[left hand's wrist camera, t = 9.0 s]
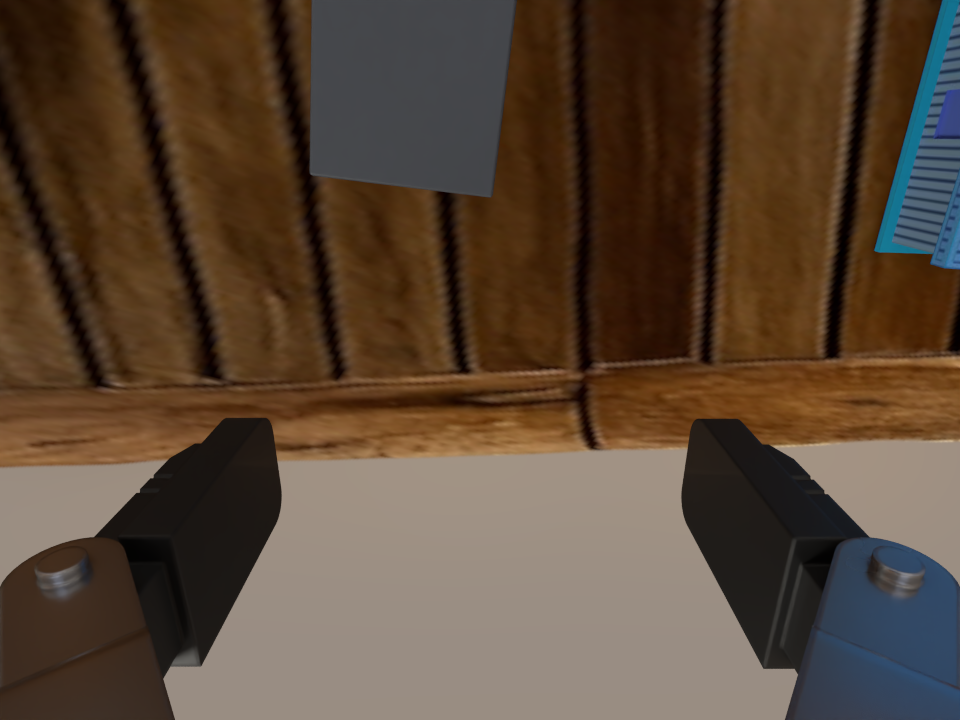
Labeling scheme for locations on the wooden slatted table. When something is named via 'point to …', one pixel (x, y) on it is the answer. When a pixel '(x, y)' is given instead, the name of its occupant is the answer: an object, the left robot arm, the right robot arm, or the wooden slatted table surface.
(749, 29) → the wooden slatted table surface
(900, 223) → the model building
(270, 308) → the wooden slatted table surface
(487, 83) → the bar
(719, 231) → the wooden slatted table surface
